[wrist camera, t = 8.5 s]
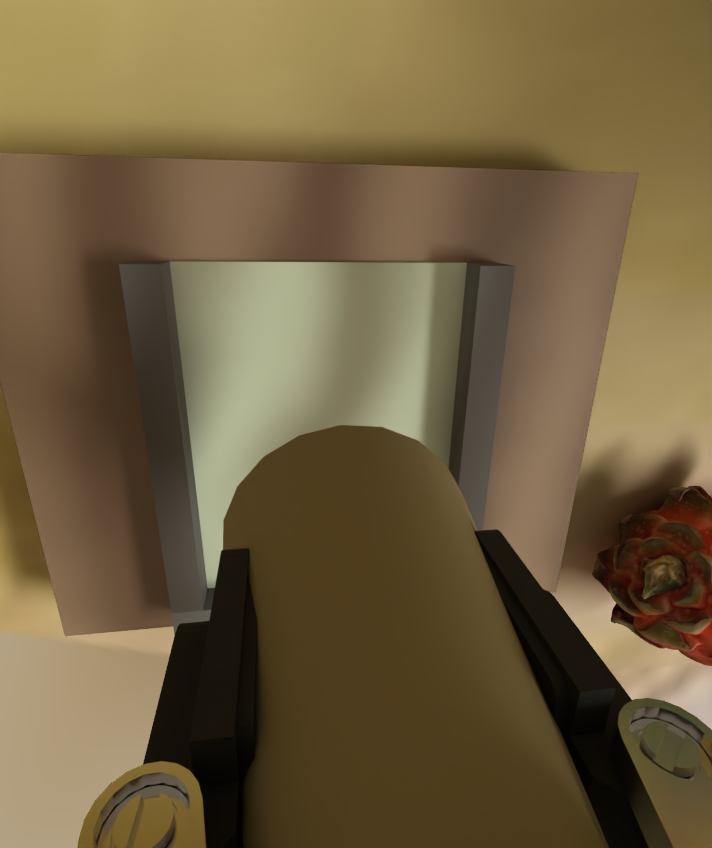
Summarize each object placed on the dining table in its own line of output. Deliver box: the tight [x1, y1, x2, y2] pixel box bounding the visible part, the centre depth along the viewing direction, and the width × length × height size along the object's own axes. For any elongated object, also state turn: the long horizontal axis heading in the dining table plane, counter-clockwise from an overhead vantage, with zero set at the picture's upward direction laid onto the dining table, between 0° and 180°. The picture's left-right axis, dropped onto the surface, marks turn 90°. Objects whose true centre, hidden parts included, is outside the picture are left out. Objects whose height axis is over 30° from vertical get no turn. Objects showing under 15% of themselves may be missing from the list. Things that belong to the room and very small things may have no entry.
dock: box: [0, 153, 638, 636], centre depth 20 cm, size 22×18×4 cm
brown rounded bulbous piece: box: [223, 425, 609, 848], centre depth 7 cm, size 6×6×11 cm
